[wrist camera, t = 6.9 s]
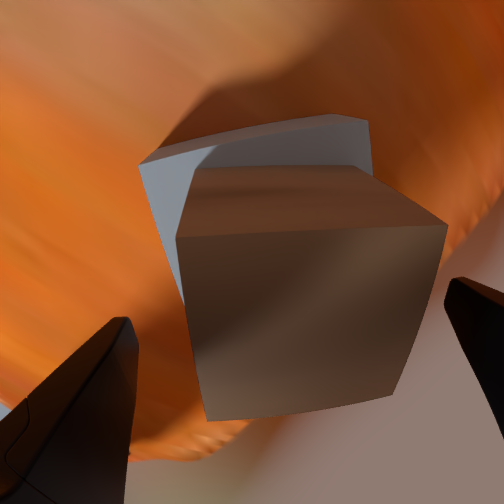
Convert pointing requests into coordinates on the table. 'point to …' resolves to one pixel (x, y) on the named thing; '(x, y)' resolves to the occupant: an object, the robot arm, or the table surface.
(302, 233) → the walnut cube
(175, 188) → the plinth block
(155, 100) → the table surface
